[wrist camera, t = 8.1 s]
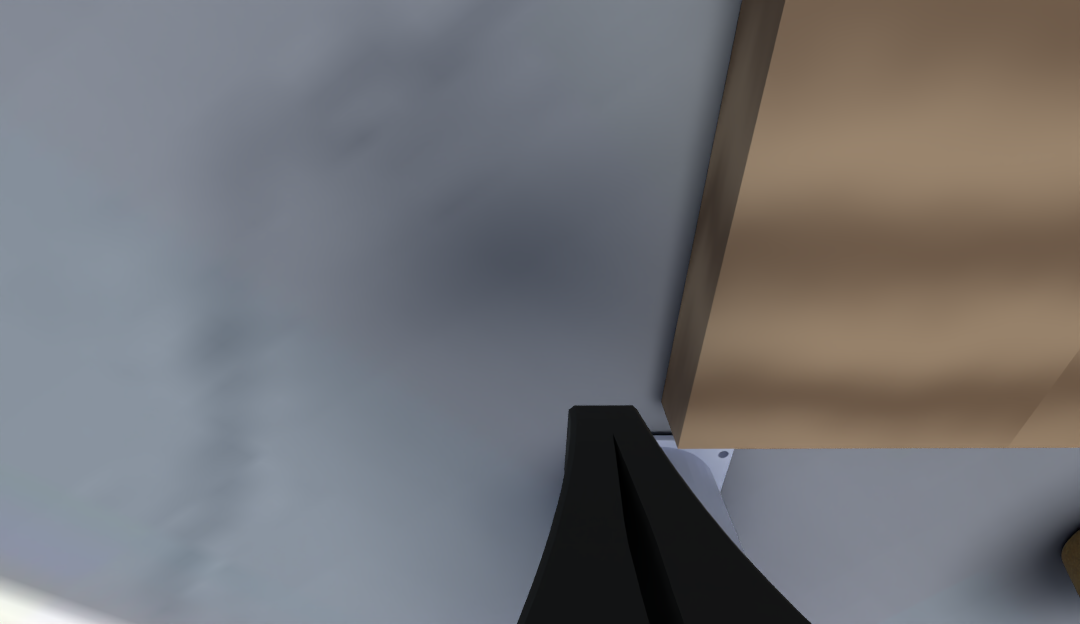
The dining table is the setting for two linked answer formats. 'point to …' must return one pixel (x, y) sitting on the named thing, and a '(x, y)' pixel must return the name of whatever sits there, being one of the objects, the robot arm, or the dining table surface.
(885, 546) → the dining table surface
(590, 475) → the robot arm
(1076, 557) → the plant pot
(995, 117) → the brown wooden flat block
